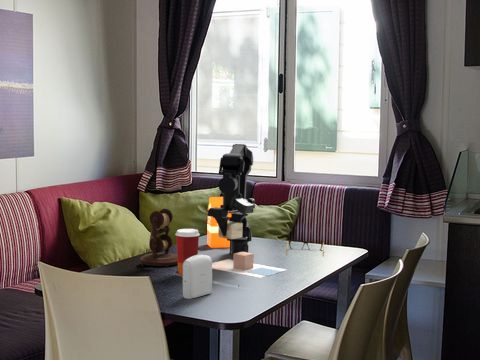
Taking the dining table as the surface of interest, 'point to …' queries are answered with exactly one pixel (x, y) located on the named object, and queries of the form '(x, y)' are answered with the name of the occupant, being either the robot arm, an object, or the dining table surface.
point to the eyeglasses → (307, 244)
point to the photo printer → (197, 276)
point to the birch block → (232, 230)
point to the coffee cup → (186, 246)
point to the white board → (255, 271)
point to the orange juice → (215, 226)
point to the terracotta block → (243, 260)
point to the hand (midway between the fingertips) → (230, 234)
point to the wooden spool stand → (160, 241)
